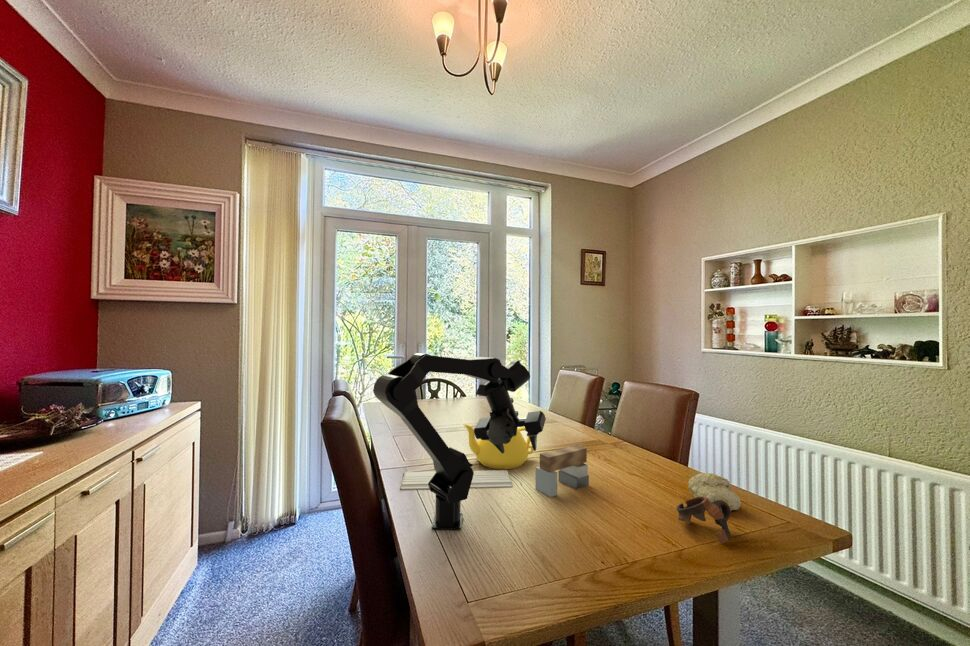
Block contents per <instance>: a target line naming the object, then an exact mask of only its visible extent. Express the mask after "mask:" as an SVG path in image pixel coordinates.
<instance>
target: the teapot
mask: <svg viewBox="0 0 970 646" xmlns="http://www.w3.org/2000/svg"><path fill="white" fill-rule="evenodd" d="M462 425H463V426H464V427H465V428H466V430H467V433H468V444H469V445H468V446H469V448H470V451H471V452H472V453H473V454H475V456H476V459H477V460H478V461H479V462H480V464H481V465H482V464H483V465H482V466H484V467H486V468H489V467H490V468H491V469H493V470H510V469H511V470H512V469H517V468H519V467H521V466H523V464H524V463H525V462H526V461H527V459H528V457H529V455H532V454H533V453H534V452H535V451H534V449H533V447H532V444H531V441H530V438H529V436H526V437H527V438H526V440H525V438H524V436H523V435H522V432H523V431H525V432H526V430H525V426H524V427H517V434H516V436H513V437H512V439H511V440H510V442H509V443H507V444H503V446H504V450H505V452H504V453H503V454H502V453H501V452H500V451H499V450H498V449H497V448H496V447H495V446H494V445H493V444H492V443H491V442H490V441H487V440H481V439H476V437H475V435H474V427H473V426H472V425H469V424H465V423H462ZM477 440H478V441H477ZM530 444H531V445H530ZM529 449H530V450H529Z"/></svg>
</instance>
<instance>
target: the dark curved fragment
mask: <svg viewBox="0 0 970 646" xmlns="http://www.w3.org/2000/svg"><path fill="white" fill-rule="evenodd" d="M685 504H686V506H684V503H682V502H681V503H680V504H678V506H676V511H677V512H678V517H677V519H678V520H679V521H680V522H681V521H682V522H686V523H687V524H688V525H691V518H692V516H693V518H695V519H697V520H699V521H700V522H706V521H707V519H706V517H705V512H707V513H708V514H709V515H710V517H711V518H713V520H714V522H715V524H716V525H719V527H721V529H720V530H719V531H718V532H716V533H715V536H717V538H718V541H719V544H721V545H723V544H726V543H727V542H728V541H730V540H731V539H732V535H731V533H730V530H729V529H730V528H729V526H728V523H727V522H728V521H729V519H730V517H731V511H730V507H729V506H728V504H727V503H726V502H725V501H723V500H716V501H714V502H710V501H709V500H708V498H707V497H704V496H700V497H696V498H694V497H693V498H690V499H687V500H686V501H685ZM720 507H721V510H720Z"/></svg>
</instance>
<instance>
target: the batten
mask: <svg viewBox="0 0 970 646" xmlns="http://www.w3.org/2000/svg"><path fill="white" fill-rule="evenodd" d="M587 449H588V448H587V447H584V446H581V445H578V444H577V445H572V446H568V447H562V448H558V449H553V450H551V451H549V450H548V451H546V452H542V453H539V466H540V469H542V470H544V471H547V472H552V471H555V472H557V471H560V469H563V468H567V467H571V466H574V465H578V464H581V463H584V464H586V463H587V459H588V458H587V457H588V455H587V453H588V451H587Z"/></svg>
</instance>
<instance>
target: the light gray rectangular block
mask: <svg viewBox="0 0 970 646" xmlns="http://www.w3.org/2000/svg"><path fill="white" fill-rule="evenodd" d="M535 490H537V491H538V492H540V493H541V494H544V495H546V496H548V497H550V498H552V497H556V496H557V495H558V471H552V472H547V471H544V470H542V469H540V465H539V466H536V467H535Z"/></svg>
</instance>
